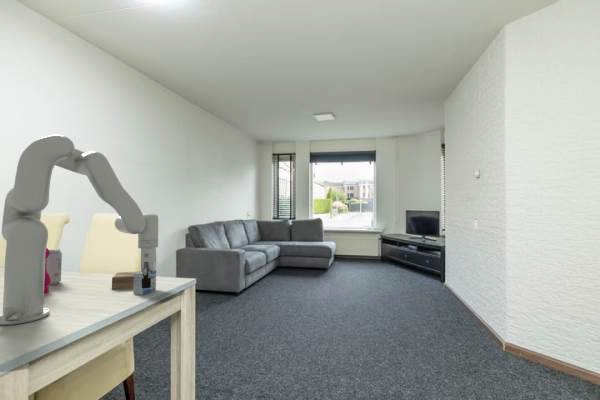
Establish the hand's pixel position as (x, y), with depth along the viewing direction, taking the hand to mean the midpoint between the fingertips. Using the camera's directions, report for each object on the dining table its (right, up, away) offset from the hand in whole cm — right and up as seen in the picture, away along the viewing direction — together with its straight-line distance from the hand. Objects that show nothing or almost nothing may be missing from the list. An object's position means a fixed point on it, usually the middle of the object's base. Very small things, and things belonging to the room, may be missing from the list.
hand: (147, 284), depth 125 cm
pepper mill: (-42, -2, -5) cm, 42 cm away
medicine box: (-1, -3, 0) cm, 3 cm away
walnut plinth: (-13, -3, +9) cm, 16 cm away
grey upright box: (-48, -2, +9) cm, 49 cm away
